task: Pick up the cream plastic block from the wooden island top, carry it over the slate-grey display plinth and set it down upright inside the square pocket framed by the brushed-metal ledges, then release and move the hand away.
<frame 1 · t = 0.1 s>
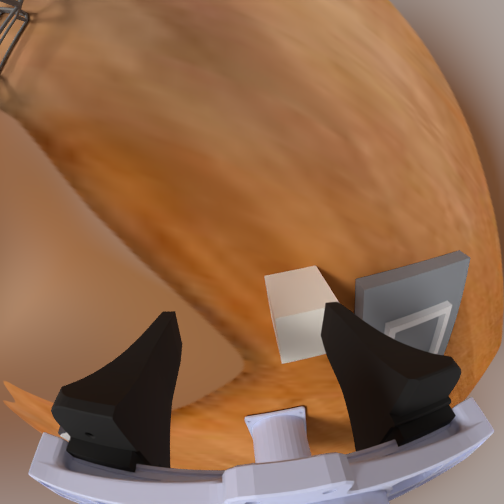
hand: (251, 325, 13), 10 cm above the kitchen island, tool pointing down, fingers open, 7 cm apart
display plinth: (404, 330, 27), on the kitchen island
cream block: (293, 292, 24), on the kitchen island
geometric lantern: (0, 36, 10), on the kitchen island
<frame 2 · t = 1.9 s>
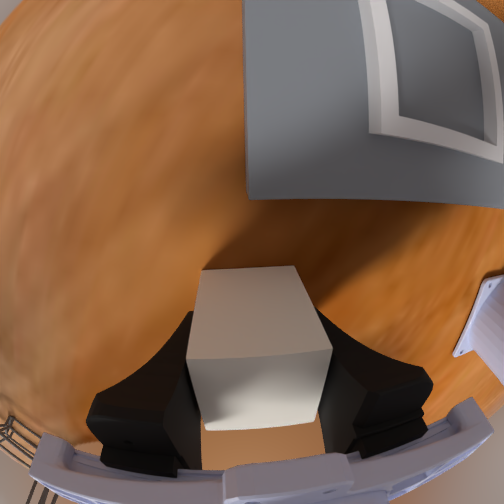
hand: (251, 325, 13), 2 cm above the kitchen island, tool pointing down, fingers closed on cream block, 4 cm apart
display plinth: (416, 68, 10), on the kitchen island
cream block: (249, 306, 14), on the kitchen island, touching gripper
geometric lantern: (25, 431, 22), on the kitchen island
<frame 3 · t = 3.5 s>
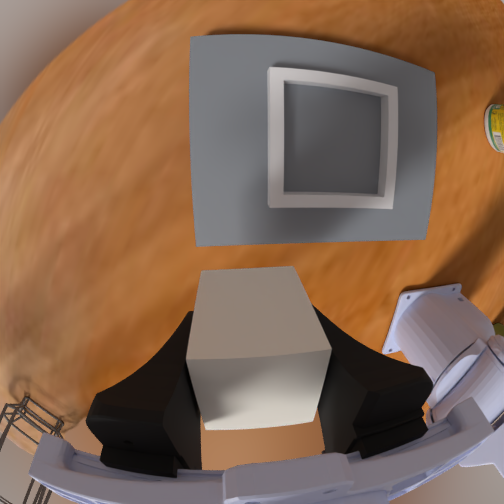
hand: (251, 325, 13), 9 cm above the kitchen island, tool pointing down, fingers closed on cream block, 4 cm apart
supplement bottle: (493, 127, 17), on the kitchen island
display plinth: (324, 139, 18), on the kitchen island
cream block: (248, 306, 14), point 7 cm above the kitchen island, touching gripper
geometric lantern: (37, 411, 30), on the kitchen island
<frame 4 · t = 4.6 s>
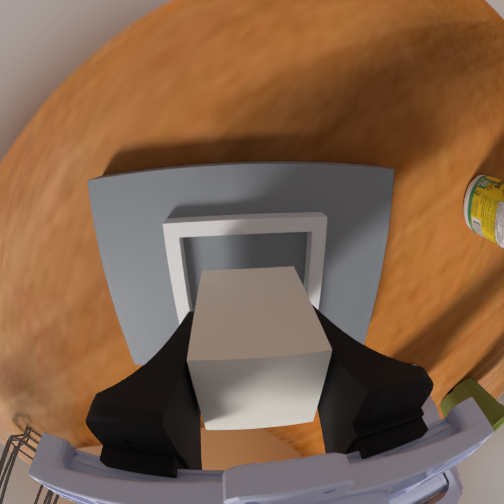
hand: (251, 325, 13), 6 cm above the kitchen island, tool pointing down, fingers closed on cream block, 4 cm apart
plant pot: (455, 391, 31), on the kitchen island
supplement bottle: (477, 201, 18), on the kitchen island
display plinth: (245, 269, 18), on the kitchen island
cream block: (249, 306, 14), point 4 cm above the kitchen island, touching gripper
geometric lantern: (38, 438, 30), on the kitchen island
when the fingers open (5 cm above the kitchen island, at t = 5.3 s): cream block drops 1 cm, resting on display plinth.
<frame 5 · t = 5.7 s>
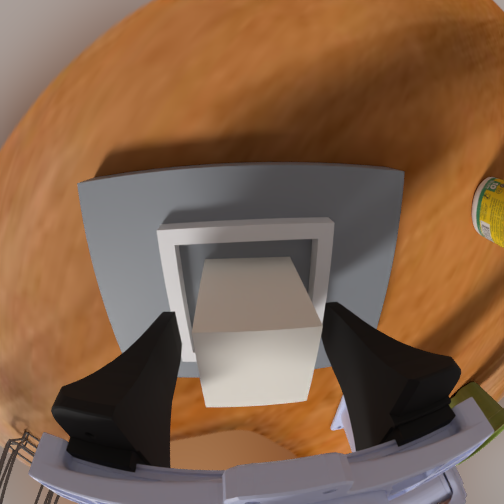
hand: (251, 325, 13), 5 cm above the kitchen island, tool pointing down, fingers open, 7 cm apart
plant pot: (458, 395, 30), on the kitchen island
supplement bottle: (485, 204, 17), on the kitchen island
display plinth: (245, 277, 17), on the kitchen island
cream block: (247, 294, 15), point 2 cm above the kitchen island, touching display plinth
geometric lantern: (37, 442, 29), on the kitchen island
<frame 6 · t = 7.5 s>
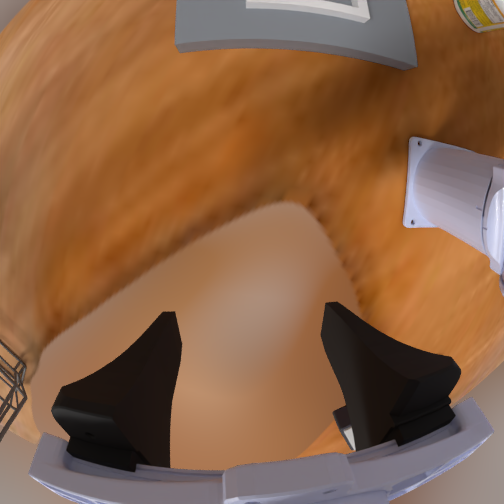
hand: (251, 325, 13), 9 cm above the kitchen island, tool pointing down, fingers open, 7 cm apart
supplement bottle: (466, 14, 12), on the kitchen island
dark product box: (382, 402, 34), on the kitchen island
geometric lantern: (1, 354, 25), on the kitchen island
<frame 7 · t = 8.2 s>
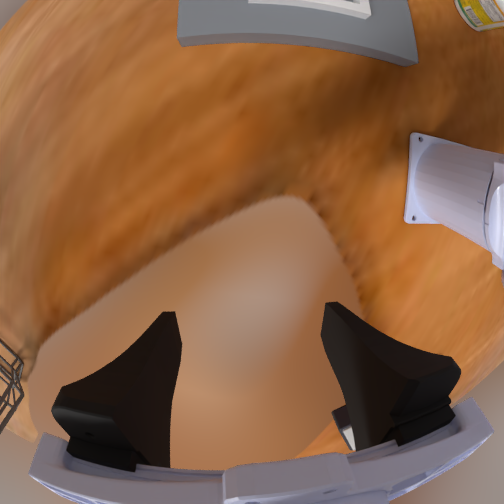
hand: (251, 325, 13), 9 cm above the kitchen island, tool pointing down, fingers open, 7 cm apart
supplement bottle: (467, 13, 12), on the kitchen island
dark product box: (381, 402, 33), on the kitchen island
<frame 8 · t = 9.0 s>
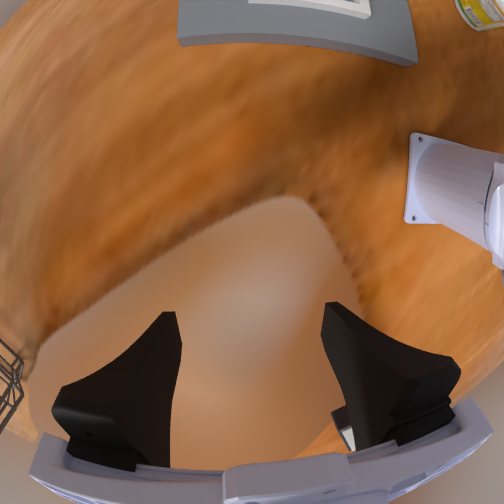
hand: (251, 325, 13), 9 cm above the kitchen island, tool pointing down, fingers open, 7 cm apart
supplement bottle: (467, 13, 12), on the kitchen island
dark product box: (381, 403, 34), on the kitchen island
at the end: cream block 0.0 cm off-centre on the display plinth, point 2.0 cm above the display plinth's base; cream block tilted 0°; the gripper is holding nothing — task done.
